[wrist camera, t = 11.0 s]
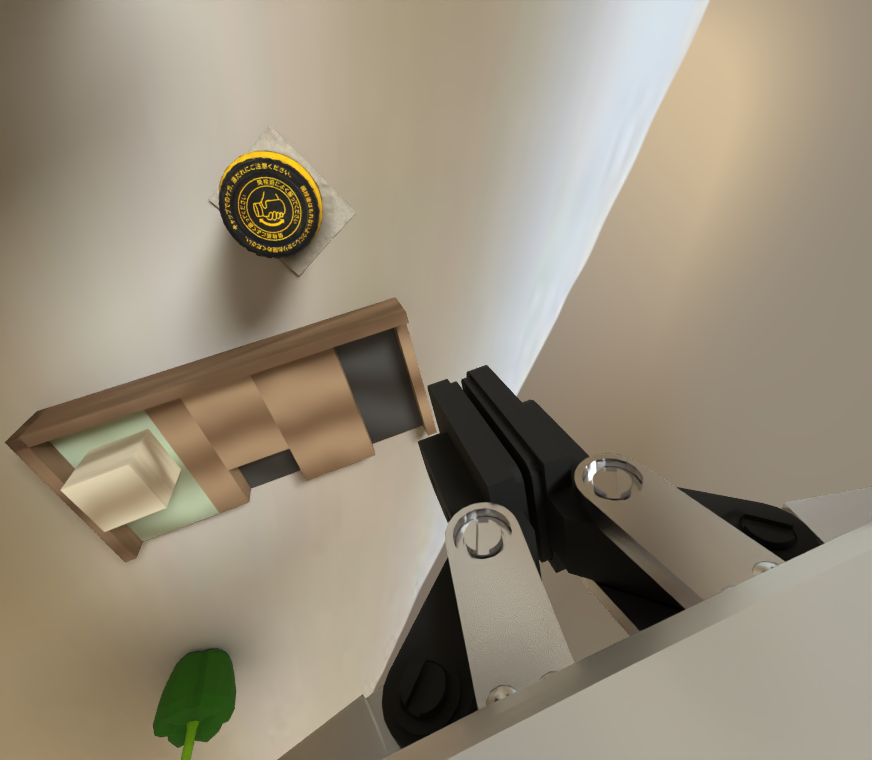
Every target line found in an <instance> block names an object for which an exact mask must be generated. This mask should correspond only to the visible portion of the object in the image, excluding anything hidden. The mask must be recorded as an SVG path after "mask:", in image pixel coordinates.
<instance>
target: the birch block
mask: <svg viewBox="0 0 872 760" xmlns="http://www.w3.org/2000/svg"><path fill="white" fill-rule="evenodd" d="M180 471H181V469H180V467H179V466H178V465H177V464H176V462H175V461H174V460H173V459H172V457H171V456H170V455H169V454H168V452H167V451H166V450H165V449H164V447H163V446H162V445H161V444H160V442H159V441H158V440H157V439H156V437H155V436H154V435H153V434H152V432H151V431H150V430H149V429H146V430H143V431H140V432H138V433H135V434H132V435H130V436H127V437H124V438H121V439H119V440H116V441H113V442H110V443H108V444H105V445H102V446H99V447H97V448H94V449H91V450H89V451H88V452H87V454H86V455H85V456H84V458H83V459H82V461H81V462H80V463H79V465H78V466H77V468H76V469H75V470H74V472H73V473H72V474H71V476H70V477H69V479H68V480H67V481H66V483H65V484H64V486H63V487H62V488H61V491H62V492H63V493H64V494H65V495H66V496H67V497H68V498H69V499H70V500H71V501H72V502H73V503H74V504H75V505H77V506H78V507H79V508H80V509H81V510H82V511H83V512H84V513H85V514H86V515H87V516H88V517H89V518H90V519H91V520H92V521H93V522H94V523H95V524H97V525H98V526H99V527H100V528H101V529H102V530H103V531H104V532H106V531H109V530H111V529H114V528H116V527H119V526H121V525H124V524H127V523H129V522H132V521H134V520H137V519H139V518H142V517H144V516H147V515H150V514H152V513H155V512H157V511H160V510H162V509H165V508H167V506H168V503H169V500H170V498H171V495H172V492H173V490H174V487H175V484H176V482H177V479H178V476H179V474H180Z"/></svg>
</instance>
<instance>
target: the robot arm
mask: <svg viewBox="0 0 872 760" xmlns="http://www.w3.org/2000/svg"><path fill="white" fill-rule="evenodd" d="M461 383H462V388H463V390H462V388H461V387H460V385H459V384H458V383H457V382H453V383H450V382H449V380H448V379H445V380H442V381H440V382H437V383H434V384H431V385H428V392H429V395H430V399H431V403H432V406H433V410H434V413H435V417H436V421H437V424H438V428H439V432H440V433H439V434H437V435H434V436H431V437H428V438H426V439H423V440H420V441H418V444H419V447H420V451H421V454H422V457H423V460H424V463H425V466H426V469H427V472H428V475H429V478H430V480H431V483H432V486H433V488H434V491H435V493H436V496H437V498H438V501H439V503H440V505H441V508H442V510H443V513H444V515H445V517H446V520H447V522H448V526H447V529H446V531H445V543H446V548H447V553H448V558H447V560H446V562H445V564H444V566H443V568H442V569H441V572H440V573H439V576H438V577H437V579H436V581H435V583H434V585H433V587H432V589H431V591H430V593H429V595H428V597H427V599H426V601H425V603H424V604H423V606H422V608H421V610H420V613H419V614H418V616H417V618H416V620H415V622H414V624H413V626H412V628H411V630H410V632H409V634H408V636H407V638H406V640H405V642H404V643H403V645H402V647H401V649H400V651H399V653H398V655H397V657H396V659H395V661H394V663H393V665H392V667H391V669H390V671H389V673H388V676H387V678H386V681H385V684H384V685H383V686H382V687H380V688H379V689H378V690H376V691H375V692H374V693H372V694H371V695H370V696H369V697H367V698H366V699H365V697H364V696H363V694H362V695H361V696H360V697H358V698H357V699H356V700H355V701H353V702H352V703H351V704H349V705H348V706H347V707H345V708H344V709H343V710H341V711H340V712H339V713H338V714H336V715H335V716H334V717H332V718H331V719H330V720H328V721H327V722H326V723H325V724H323V725H322V726H321V727H319V728H318V729H317V730H315V731H314V732H313V733H311V734H310V735H309V736H308V737H306V738H305V739H304V740H302V741H301V742H300V743H298V744H297V745H296V746H294V747H293V748H292V749H291V750H289V751H288V752H287V753H285V754H284V755H283V756H281V757H280V758H279V759H278V760H872V486H871V487H866V488H860V489H855V490H849V491H844V492H839V493H833V494H827V495H822V496H817V497H811V498H806V499H800V500H796V501H790V502H784V504H783V507H782V508H781V509H780V508H778V507H774V506H771V505H767V504H764V503H759V502H754V501H748V500H743V499H738V498H732V497H727V496H722V495H716V494H711V493H706V492H700V491H695V490H690V489H684V488H679V487H675V486H673V485H672V484H670V483H669V482H667V481H666V480H664V479H663V478H661V477H660V476H659V475H657V474H656V473H654V472H653V471H651V470H650V469H648V468H647V467H645V466H644V465H642V464H641V463H639V462H638V461H636V460H634V459H631V458H630V457H627V456H623V455H620V454H611V453H604V454H597V455H594V456H591V457H589V456H588V455H587V453H585V451H584V450H582V448H581V447H580V446H579V445H578V444H577V443H575V442H574V440H572V438H571V437H570V436H569V435H568V434H567V433H566V432H565V431H564V430H563V429H562V428H561V427H560V426H559V425H558V424H557V423H556V422H555V421H554V420H553V419H552V418H551V417H550V416H549V415H548V414H547V413H546V412H545V411H544V410H543V409H542V408H541V407H540V406H539V405H538V404H537V403H536V402H535V401H533V400H528V401H525V402H521V401H520V400H519V399H518V398H517V397H516V396H515V395H514V393H513V392H512V391H511V390H510V389H509V388H508V387H507V386H506V385H505V384H504V383H503V382H502V381H501V380H500V378H499V377H498V376H497V375H496V374H495V373H494V372H493V371H492V370H491V369H490V368H489V367H488V366H487V365H485V366H482V367H479V368H476V369H474V370H471V371H468V372H467V378H464V379H462V380H461ZM539 560H540V561H541V562H542V563H543V562H545V561H547V560H548V561H549V562H550V564H551V566H552V567H553V569H554V570H555V572H556V573H557V572H560V571H562V570H564V569H566V570H567V571H568V573H571V574H574V575H578V576H580V577H582V581H583V583H584V584H585V585H586V587H587V588H588V590H589V591H590V592H591V593H592V594H593V595H594V597H595V598H596V599H597V600H598V601H599V602H600V603H601V604H602V605H603V607H604V608H605V609H606V610H607V611H608V612H609V613H610V615H611V616H612V617H613V618H614V619H615V620H616V621H617V622H618V623H619V624H620V626H621V627H622V628H623V629H624V630H625V631H626V632H627V634H628V635H629V636H630V637H628V638H626V639H624V640H622V641H620V642H617V643H615V644H613V645H611V646H609V647H607V648H605V649H603V650H601V651H599V652H597V653H595V654H593V655H591V656H588V657H586V658H584V659H582V660H580V661H578V662H576V663H574V661H573V659H572V656H571V654H570V651H569V649H568V646H567V644H566V641H565V639H564V636H563V634H562V631H561V629H560V626H559V624H558V621H557V619H556V616H555V613H554V611H553V609H552V606H551V603H550V601H549V599H548V596H547V593H546V591H545V588H544V586H543V583H542V580H541V573H540V565H539Z"/></svg>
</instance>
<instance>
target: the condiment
mask: <svg viewBox="0 0 872 760" xmlns="http://www.w3.org/2000/svg"><path fill="white" fill-rule="evenodd" d="M208 200H210V201H211V202H212V203H213V204H214V205H216V206H217V207H218V208H219V211H220V214H221V217H222V219H223V223H224V225H225V226H226V228H227V230H228V231H229V233H230V234H231V235H232V237H233V238H234V239H235V240H236V241H237V242H238V243H239V244H240V245H242V246H243V247H245V248H246V249H247V250H248V251H251V252H254V253H256V254H257V255H258V256H265V257H268V258H279V259H280V260H281V261H282V262H284V263H285V264H286V265H287V266H288V267H289V268H290V269H292V270H293V271H294V272H295V273H297V274H298V275H299V276H300V275H301V274H302V272H303V271H304V270H305V269H306V268H307V267H308V266H309V264H310V263H311V262H312V261H313V260H314V259H315V258H316V256H317V255H318V254H319V253H320V252H321V251H322V250H323V249H324V248H325V246H326V245H327V244H328V243H329V242H330V241H331V239H332V238H333V237H334V236H335V235H336V234H337V233H338V232H339V231H340V230H341V229H342V228H343V226H344V225H345V224H346V223H347V222H348V221H349V220H350V219H351V218H352V217H353V215H354V214H355V213H356V212H355V211H354V210H353V209H352V208H351V207H350V206H349V205H348V204H347V203H346V202H345V201H344V200H343V199H342V198H341V197H340V195H339V194H338V193H337V192H336V191H334V190H333V188H332V187H331V186H330V185H329V184H328V183H327V182H326V181H325V180H324V179H323V178H322V177H321V176H320V175H319V174H318V173H317V172H316V171H315V170H314V169H313V168H312V167H311V166H310V165H309V164H308V163H307V162H306V161H305V160H304V159H303V158H302V157H301V156H300V155H299V154H298V153H297V152H296V151H295V150H294V149H293V147H292V146H291V145H290V144H289V143H288V142H287V141H286V140H285V139H284V138H283V137H282V136H281V135H280V134H279V133H278V132H277V131H276V130H275V129H274V128H273V127H272V126H271V125H270V126H269V127H268V128H267V130H266V131H265V132H264V133H263V134H262V136H261V137H260V138H259V139H258V140H257V142H256V143H255V144H254V145H253V147H252V148H251V149H250V150H249V151H248V153H247V154H244V155H242V156H239V158H238V159H236V160H235V161H234V162H233V163H232V164H230V165H229V166H228V167H227V169H226V170H225V172H224V174H223V176H222V178H221V181H220V185H219V187H218V188H217V190H216V191H215V192H214V193H213V194H212V196H211V197H210V198H209V199H208Z"/></svg>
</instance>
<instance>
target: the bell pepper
mask: <svg viewBox="0 0 872 760" xmlns="http://www.w3.org/2000/svg"><path fill="white" fill-rule="evenodd" d="M235 698H236V686H235V677H234V670H233V664H232V662H231V659H230V657H229V655H228V654H227V653H226V652H225V651H222V650H220V649H209V650H207V651H206V652H205V653H202V652H193V653H189V654H187V655H186V656H185V657H183V658H182V659H181V660H180V661H179V662H178V663H177V664H176V666H175V668H174V670H173V672H172V674H171V676H170V678H169V680H168V682H167V684H166V686H165V688H164V690H163V693H162V696H161V699H160V702H159V705H158V708H157V712H156V716H155V719H154V723H153V728H154V734H155V736H158V737H165V736H168V741H169V742H171V743H172V744H173V745H174V746H176V747H177V748H178V747H181V746H183V745H184V748H183V752H182V757H181V760H190V759H191V755H192V750H193V745H194V740H195V741H202V742H208V741H209V740H210V739H211V738H212V737H213V736H214V735H215V734H216V733H217V732H218V731H219V730H220V728H221V726H222V724H223V723H225V722H227V721H229V719H230V717H231V715H232V713H233V711H234V709H235Z"/></svg>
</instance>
